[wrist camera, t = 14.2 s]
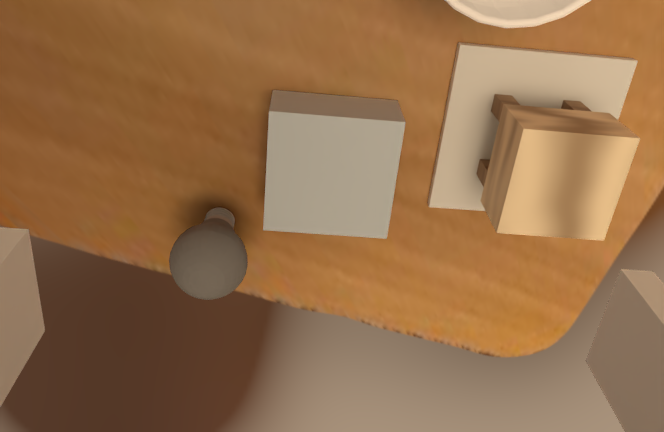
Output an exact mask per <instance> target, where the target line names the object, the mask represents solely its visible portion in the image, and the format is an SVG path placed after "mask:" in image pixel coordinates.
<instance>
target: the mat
mask: <svg viewBox="0 0 664 432" xmlns="http://www.w3.org/2000/svg"><path fill="white" fill-rule="evenodd" d="M637 62H638V61H637V60H635V59H633V58H625V57H614V56H603V55H592V54H581V53H570V52H559V51H548V50H537V49H526V48H515V47H504V46H494V45H483V44H472V43H461V42H458V46H457V51H456V57H455V62H454V67H453V72H452V77H451V83H450V88H449V93H448V98H447V104H446V109H445V114H444V119H443V125H442V130H441V135H440V140H439V145H438V151H437V156H436V161H435V166H434V172H433V177H432V182H431V187H430V192H429V198H428V205H429V207H437V208H450V209H464V210H478V211H485V209H484V207H483V205H482V203H481V197H482V192H483V188H484V187H483V185H482V184H481V182H480V180H479V178H478V176H477V169H478V165H479V161H480V159H487V160H490V159H491V154H492V150H493V146H494V142H495V138H496V133H497V129H498V125H499V121H498V120H497V119H496V117H495V116H494V114H493V113H492V112H491V108H492V104H493V99H494V95H495V94H500V95H512V96H513V97H514V98H515V99H516V101H517V102H518V103H519V104H520V105H521V106H533V107H545V108H557V109H561V107H562V103H563V100H570V101H581V102H582V103H583V104H584V105H585V106H586V107H588V108H589V109H590V110H591V111H592V112H604V113H610V114H611V115H612V116H614V117H615V118H616V119H617V120H618V119H619V116H620V113H621V110H622V107H623V104H624V101H625V98H626V95H627V92H628V89H629V86H630V83H631V80H632V77H633V74H634V71H635V68H636V65H637Z"/></svg>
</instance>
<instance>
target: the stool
mask: <svg viewBox="0 0 664 432" xmlns="http://www.w3.org/2000/svg"><path fill="white" fill-rule="evenodd" d="M491 112H492V113H493V114H494V116H495V117H496V119H497V120H498V121H499V125H498V129H497V133H496V138H495V142H494V146H493V150H492V154H491V159H490V160H487V159H480V161H479V165H478V169H477V176H478V178H479V180H480V182H481V184H482V185H483V187H484V188H483V192H482V197H481V203H482V205H483V207H484V209H485V211H486V213H487V215H488V217H489V219H490V221H491V223H492V225H493V227H494V229H495V231H496V233H504V234H518V235H532V236H547V237H561V238H575V239H589V240H604V239H605V236H606V233H607V230H608V227H609V225H610V222H611V219H612V216H613V213H614V211H615V208H616V205H617V202H618V199H619V197H620V194H621V191H622V188H623V185H624V183H625V180H626V177H627V174H628V171H629V169H630V166H631V163H632V160H633V157H634V155H635V152H636V149H637V146H638V143H639V141H640V138H639V137H638V136H637V135H636V134H634V133H633V132H632V131H631V130H629V129H628V128H627V127H626V126H625V125H623V124H622V123H621V122H620V121H618V120H617V119H616V118H615V117H614V116H612V115H611V114H610V113H604V112H592V111H591V110H590V109H589V108H588V107H586V106H585V105H584V104H583V103H582V102H581V101H570V100H563V103H562V107H561V109H557V108H545V107H533V106H521V105H520V104H519V103H518V102H517V101H516V99H515V98H514V97H513V96H512V95H500V94H495V95H494V99H493V104H492V108H491Z"/></svg>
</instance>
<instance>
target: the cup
mask: <svg viewBox="0 0 664 432" xmlns="http://www.w3.org/2000/svg"><path fill="white" fill-rule="evenodd" d="M444 1H446V2H447V3H448V4H449V5H450V6H451V7H452V8H453V9H455V10H456V11H458V12H460V13H462V14H464V15H466V16H467V17H469V18H471V19H473V20H475V21H477V22H479V23H483V24H488V25H493V26H497V27H502V28H518V27H534V26H538V25H541V24H544V23H547V22H550V21H553V20H556V19H559V18H562V17H565V16H566V15H568V14H570V13H571V12H573V11H575V10H576V9H578V8H580V7H581V6H583V5H584V4H586V3H588V2H589V1H591V0H444Z"/></svg>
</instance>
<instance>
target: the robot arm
mask: <svg viewBox="0 0 664 432" xmlns="http://www.w3.org/2000/svg"><path fill="white" fill-rule="evenodd" d="M44 331H45V328H44V322H43V315H42V309H41V303H40V297H39V291H38V285H37V278H36V272H35V266H34V260H33V253H32V247H31V241H30V235H29V229H17V228H2V227H0V406H1V405H2V403H3V401H4V399H5V398H6V396H7V395H8V393H9V391H10V389H11V388H12V386H13V384H14V383H15V381H16V379H17V377H18V376H19V374H20V372H21V370H22V369H23V367H24V365H25V364H26V362H27V360H28V358H29V357H30V355H31V353H32V352H33V350H34V348H35V347H36V345H37V343H38V341H39V340H40V338H41V336H42V335H43V333H44ZM586 362H587V364H588V366H589V368H590V370H591V371H592V373H593V375H594V377H595V378H596V381H597V382H598V384H599V386H600V388H601V390H602V391H603V393H604V395H605V396H606V399H607V400H608V402H609V404H610V406H611V408H612V409H613V411H614V413H615V415H616V416H617V418H618V420H619V422H620V424H621V425H622V427H623V429H624V431H625V432H664V284H663V282H662V281H661V280H660V279H659V278H658V276H657V275H656V274H655V273H654V272H653V271H641V270H626V269H621V270H620V272H619V275H618V278H617V280H616V283H615V286H614V288H613V291H612V293H611V296H610V299H609V301H608V304H607V306H606V309H605V312H604V314H603V317H602V320H601V322H600V325H599V328H598V330H597V333H596V335H595V338H594V340H593V343H592V346H591V348H590V351H589V354H588V356H587V359H586Z"/></svg>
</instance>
